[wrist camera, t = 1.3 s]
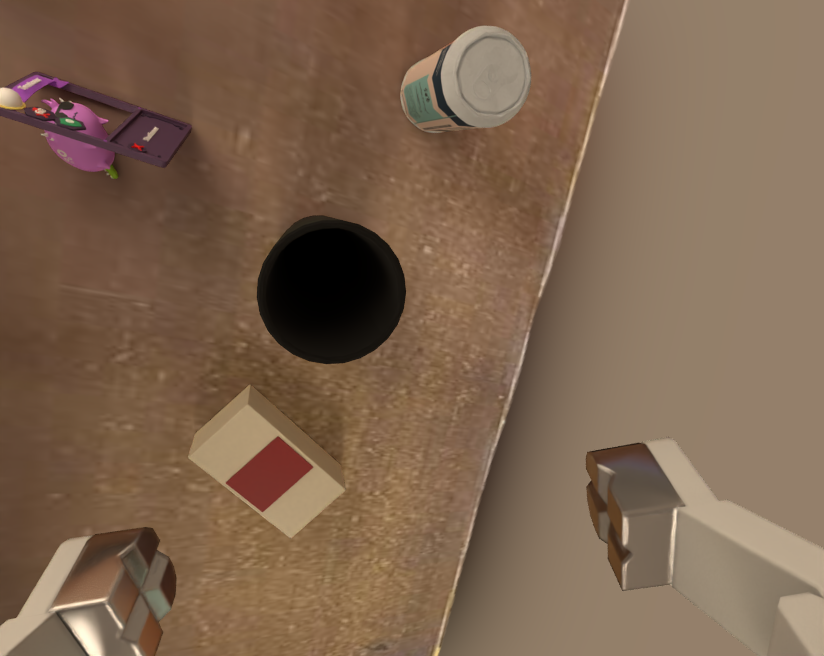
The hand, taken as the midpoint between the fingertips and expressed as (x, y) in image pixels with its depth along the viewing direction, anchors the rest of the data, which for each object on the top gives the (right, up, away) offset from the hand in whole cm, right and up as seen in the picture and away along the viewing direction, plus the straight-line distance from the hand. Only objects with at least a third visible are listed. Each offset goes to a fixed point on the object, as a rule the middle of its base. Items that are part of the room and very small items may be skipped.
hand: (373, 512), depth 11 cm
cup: (-6, +9, +30) cm, 32 cm away
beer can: (+2, +19, +29) cm, 35 cm away
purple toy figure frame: (-18, +15, +26) cm, 35 cm away
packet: (-10, -6, +34) cm, 36 cm away
